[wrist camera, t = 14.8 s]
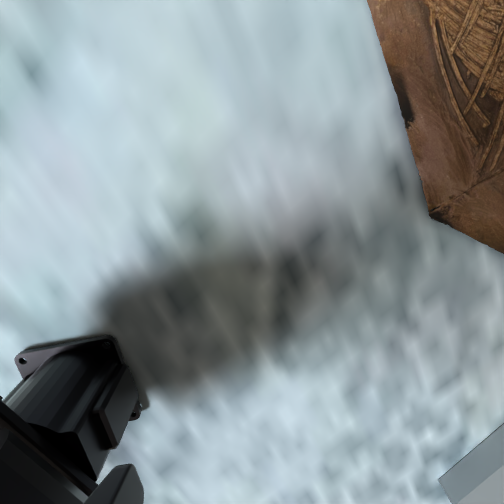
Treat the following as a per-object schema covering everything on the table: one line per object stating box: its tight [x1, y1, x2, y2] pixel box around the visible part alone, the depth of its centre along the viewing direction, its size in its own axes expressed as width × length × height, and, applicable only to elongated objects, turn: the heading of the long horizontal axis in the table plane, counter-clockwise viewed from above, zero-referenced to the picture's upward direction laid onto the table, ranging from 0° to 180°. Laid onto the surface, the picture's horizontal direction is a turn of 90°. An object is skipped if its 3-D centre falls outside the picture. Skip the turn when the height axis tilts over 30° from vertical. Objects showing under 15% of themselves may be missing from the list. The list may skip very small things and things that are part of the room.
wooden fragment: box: [367, 0, 504, 254], centre depth 18 cm, size 26×11×1 cm, turn 38°
